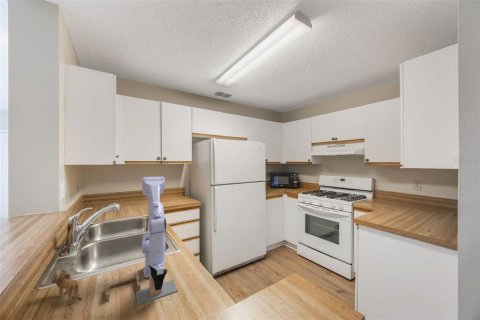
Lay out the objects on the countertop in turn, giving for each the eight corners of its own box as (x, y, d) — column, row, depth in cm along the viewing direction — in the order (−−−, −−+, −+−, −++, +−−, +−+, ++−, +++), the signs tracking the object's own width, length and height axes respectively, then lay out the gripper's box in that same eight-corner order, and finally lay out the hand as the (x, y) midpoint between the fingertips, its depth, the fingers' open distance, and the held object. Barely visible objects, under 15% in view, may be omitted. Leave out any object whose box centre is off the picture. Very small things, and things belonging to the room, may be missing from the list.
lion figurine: (46, 297, 71) (47, 273, 71) (63, 288, 76) (63, 266, 76) (73, 306, 67) (74, 280, 67) (89, 296, 72) (90, 272, 72)
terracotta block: (149, 290, 75) (149, 275, 75) (159, 286, 77) (160, 271, 77) (150, 296, 71) (150, 280, 71) (161, 292, 74) (161, 276, 74)
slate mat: (135, 292, 74) (135, 291, 74) (172, 280, 82) (172, 279, 82) (137, 305, 67) (137, 304, 67) (177, 291, 75) (177, 290, 75)
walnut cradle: (107, 288, 76) (107, 282, 76) (138, 279, 82) (138, 273, 82) (105, 302, 69) (106, 295, 69) (140, 291, 75) (140, 284, 75)
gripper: (143, 244, 79) (143, 277, 78) (148, 259, 66) (147, 298, 66) (161, 240, 82) (161, 272, 82) (169, 254, 70) (169, 291, 70)
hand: (156, 283), depth 74 cm, fingers open, 7 cm apart
